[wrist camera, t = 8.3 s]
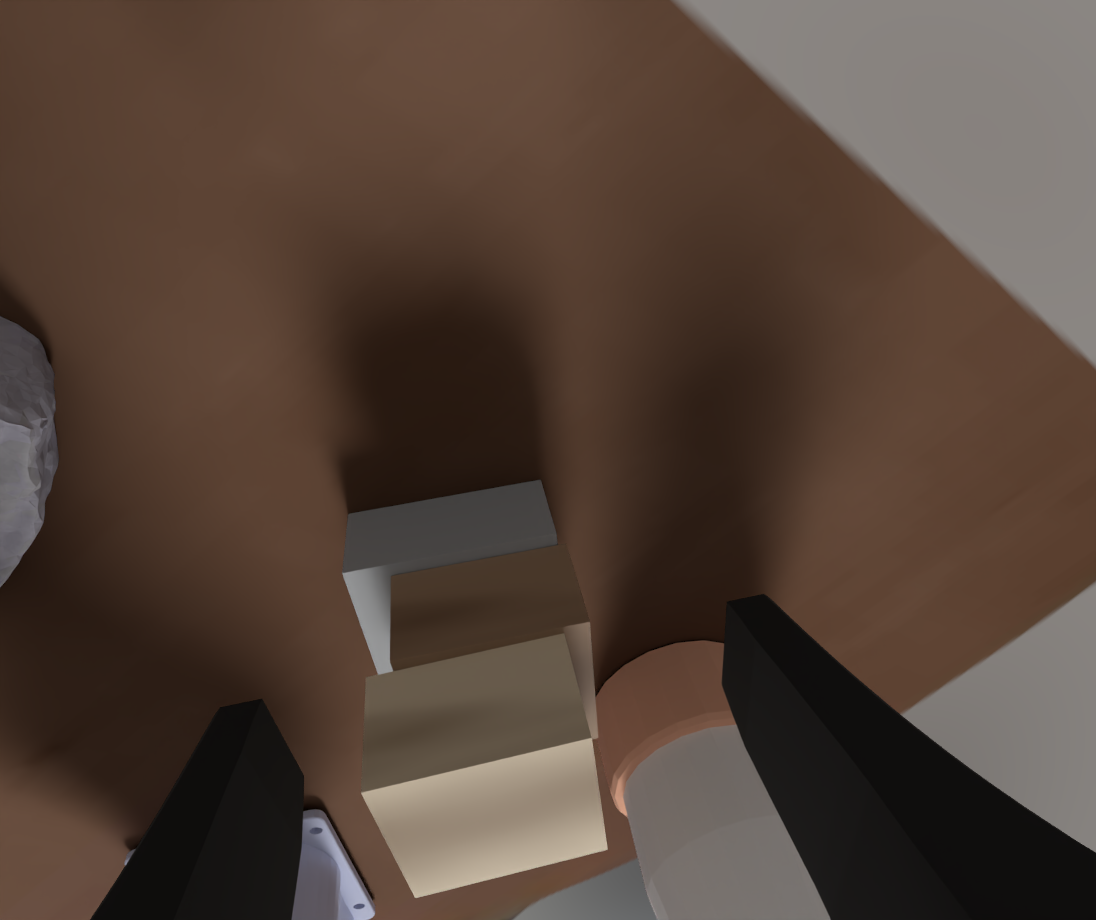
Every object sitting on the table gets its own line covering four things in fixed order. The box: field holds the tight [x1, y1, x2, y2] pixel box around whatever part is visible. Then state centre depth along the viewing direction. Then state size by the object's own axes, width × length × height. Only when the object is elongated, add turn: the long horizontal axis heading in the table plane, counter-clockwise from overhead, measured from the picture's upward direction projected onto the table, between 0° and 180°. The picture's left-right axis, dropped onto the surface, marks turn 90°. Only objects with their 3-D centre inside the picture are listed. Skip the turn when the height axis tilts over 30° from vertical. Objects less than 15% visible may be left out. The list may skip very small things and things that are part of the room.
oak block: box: [361, 633, 608, 898], centre depth 17 cm, size 5×5×3 cm
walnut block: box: [390, 544, 598, 739], centre depth 20 cm, size 5×5×3 cm
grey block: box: [342, 480, 558, 675], centre depth 22 cm, size 6×6×3 cm
